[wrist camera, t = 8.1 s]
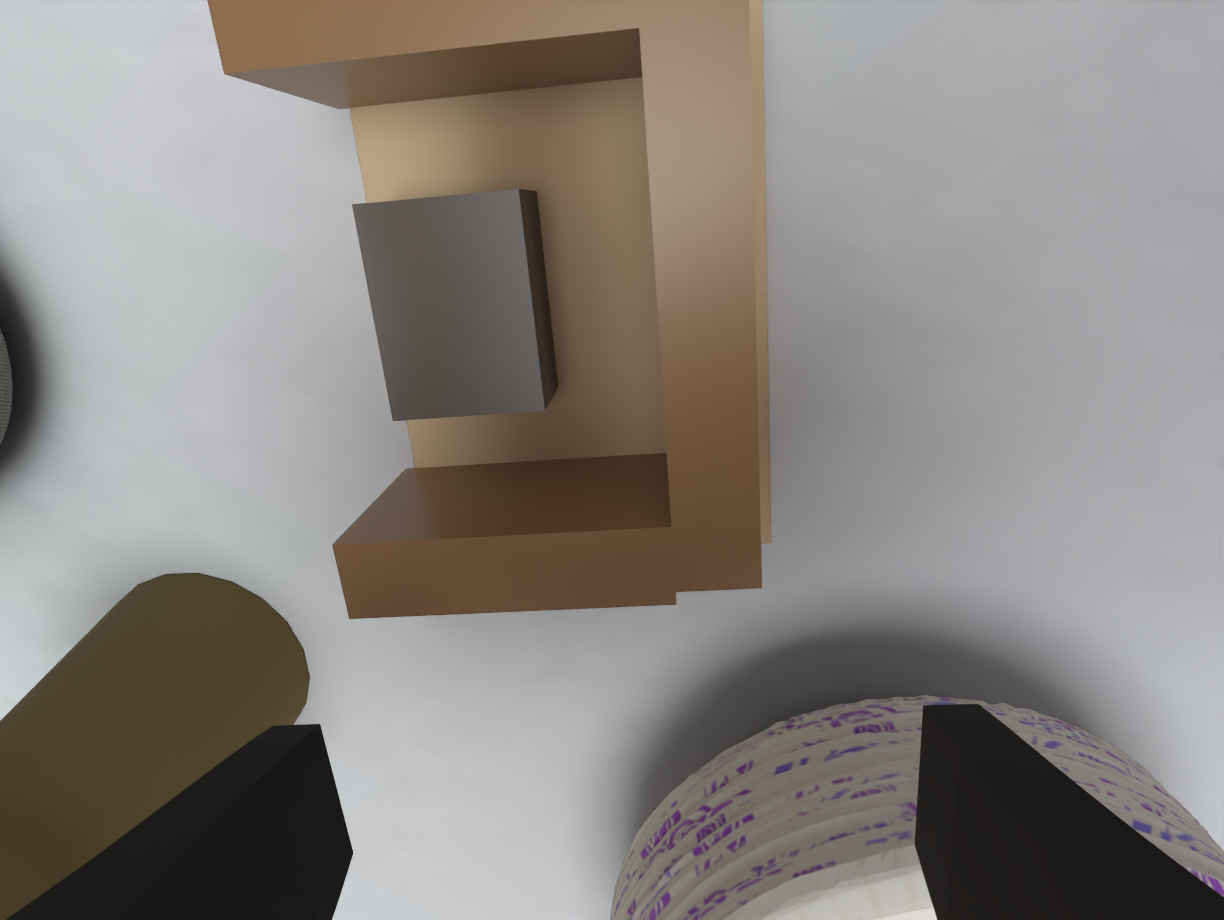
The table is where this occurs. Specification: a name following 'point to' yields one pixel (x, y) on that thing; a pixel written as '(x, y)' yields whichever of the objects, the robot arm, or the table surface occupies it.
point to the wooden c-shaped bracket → (685, 288)
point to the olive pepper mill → (137, 721)
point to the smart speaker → (4, 387)
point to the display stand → (528, 272)
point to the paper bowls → (852, 818)
